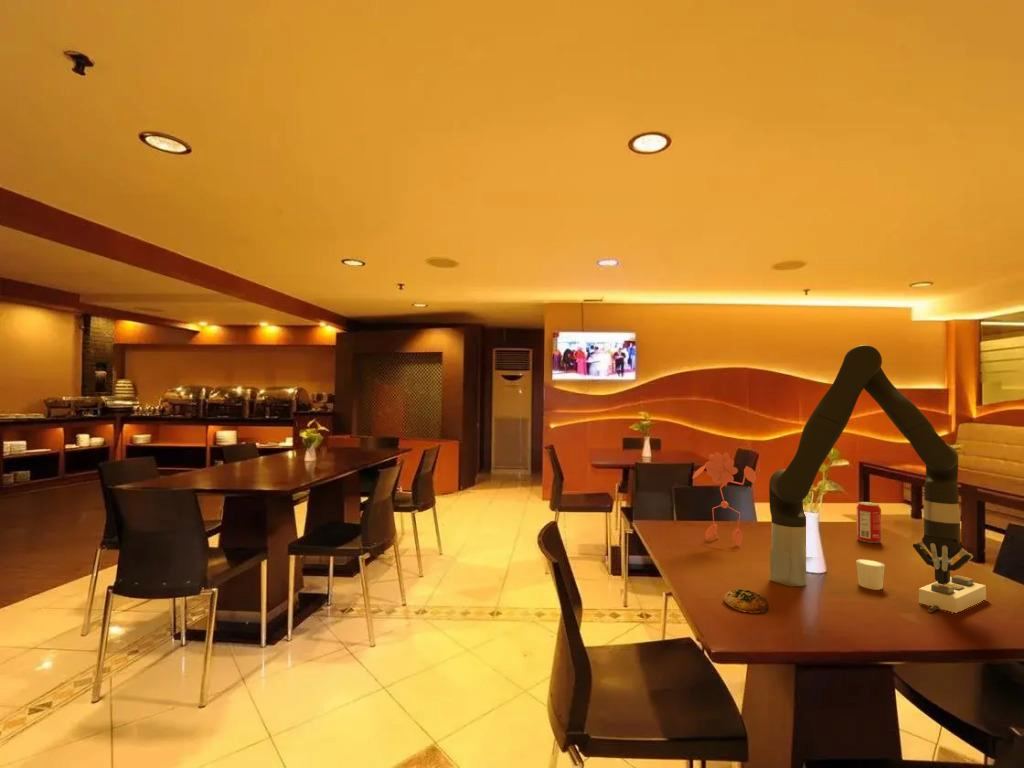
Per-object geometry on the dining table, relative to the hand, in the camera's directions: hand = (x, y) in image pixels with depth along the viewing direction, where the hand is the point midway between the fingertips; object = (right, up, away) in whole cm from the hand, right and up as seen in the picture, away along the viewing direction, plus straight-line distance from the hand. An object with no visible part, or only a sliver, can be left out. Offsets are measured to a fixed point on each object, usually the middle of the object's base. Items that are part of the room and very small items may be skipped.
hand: (942, 583), depth 135 cm
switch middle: (+5, -4, +3) cm, 8 cm away
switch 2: (+11, -3, +6) cm, 13 cm away
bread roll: (-54, -6, -2) cm, 54 cm away
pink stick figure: (-36, -8, +56) cm, 67 cm away
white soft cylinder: (-9, -7, +14) cm, 18 cm away
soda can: (+25, -9, +64) cm, 69 cm away
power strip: (+3, -6, +2) cm, 7 cm away
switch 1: (0, -3, 0) cm, 3 cm away
